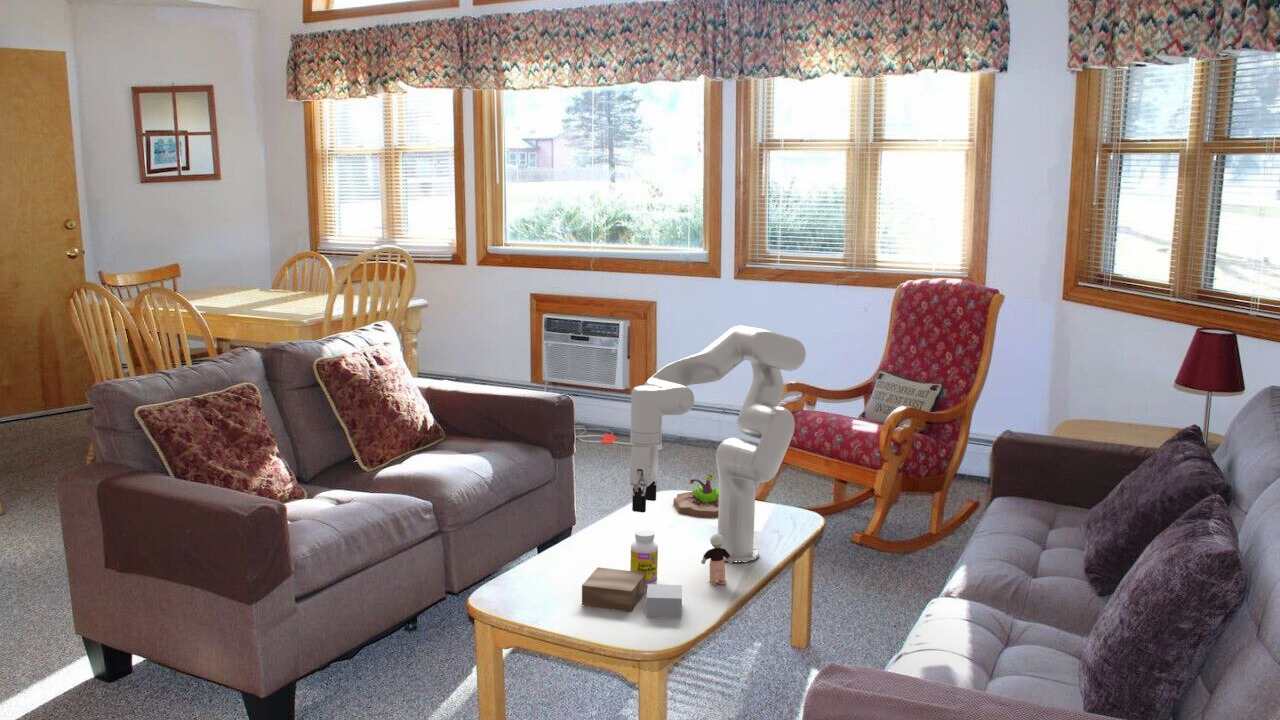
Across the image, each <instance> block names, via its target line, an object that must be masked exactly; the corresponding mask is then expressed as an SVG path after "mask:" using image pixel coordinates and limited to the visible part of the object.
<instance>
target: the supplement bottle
mask: <svg viewBox="0 0 1280 720" xmlns="http://www.w3.org/2000/svg"><path fill="white" fill-rule="evenodd" d="M634 533H635V534H634V538H635V540H634V541H633V542H632V543H631V545H630V564H629V565H630V569H629V571H634V572H642V573H645V588H647V587H648V584H657V582H658V561H659V560H658V559H659V557H658V555H659V554H658V553H659V552H658V551H659V545H658V544H657V543H656V541H655V532H654V531H652V530H649V529H641V530H636V531H635V532H634Z"/></svg>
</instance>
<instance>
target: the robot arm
mask: <svg viewBox="0 0 1280 720" xmlns="http://www.w3.org/2000/svg"><path fill="white" fill-rule="evenodd" d="M806 352H807V351H806V348H805V346H804V344H803V343H802V342H801V341H800V340H799V339H798V338H794V337H791V336H787V335H784V334H781V333H777V332H774V331H771V330H767V329H764V328H758V327H752V326H746V325H735V326H732V327H731V328H729V329H727V331H725V332H724V333H723V334H721V335H720V336H719V337H717V338H716V339H715V340H714V341H712V343H709V344H708V346H706V347H705V348H704V349H702V350H701V351H700V352H698V353H695V354H693V355H690V356H687V357H684V358H681V359H679V360H676V361H674V362H671V363H668V364H667V365H665V366H663V367H662V368H660V369H659V370H658V371H656V373H654V374H653V375H651V377H649V378H648V379H647V380H646V381H645V383H644V384H643V385H637V386H635V387H633V388H632V390H631V394H630V395H631V397H630V438H629V440H630V444H631V446H632V447H631V453H630V461H629V462H630V463H629V479H628V480H629V481H628V484H629V485H630V486H633V487H632V499H631V500H632V501H631V502H632V503H631V504H632V505H631V507H632V509H631V510H632V512H635V513H636V512H637V513H646V511H647V506H646V505H647V501H651V502H655V501H656V500H657V483H658V482H657V481H658V480H657V478H658V476H659V475H658V473H659V446H660V445H662V439H663V438H662V436H663V432H662V431H663V416H681V415H685V414H687V413H688V412H689V411H690V410H691V409H692V408H693V406H694V405H695V395H694V393H693V391H692V390H691V388H690V387H688V386H693V385H701V384H708V383H709V384H710V383H714V382H717V381H720V380H721V379H723V378H724V377H725V376H727V374H729V373H730V372H731V371H733V370H734V369H735V368H736V367H738V365H740V364H741V363H743V362H744V361H750V365H751V369H752V382H751V385H750V387H749V390H748V392H747V394H746V397H745V399H744V402H743V404H742V407H741V409H740V411H739V413H738V417H737V418H736V427H737V428H738V431H739V432H740V433H742V434H743V435H745V436H748V437H751V438H754V439H758V440H759V443H758V442H754V441H753V440H748V439H745V438H741V437H740V438H739V437H729V438H726V439H723V440H722V441H721V443H719V445H718V447H717V449H716V453H715V462H716V467H717V468H716V469H717V473H718V474H717V475H718V487H719V506H718V517H717V534H721V535H722V536H723V539H724V542H723V544H722V546H721V547H720V548H723V549H725V550H726V551H727V552H728V553H729V555H730V557H731V560H732V562H735V561H737V562H739V561H740V562H743V561H750V560H753V559H755V560H757V559H758V558H759V557H758V556H760V551H759V550H758V548H757V547H755V546H754V537H755V536H754V535H755V512H756V511H755V509H756V507H755V506H756V505H755V504H756V488H755V487H756V486H755V483H754V482H756V483H763V484H764V483H767V482H769V481H771V480H773V478H774V477H775V476H776V475H777V473H778V472H779V469H780V467H781V464H782V463H783V460H784V458H785V455H786V453H787V451H788V449H789V446H790V444H791V441H792V439H793V436H794V432H795V424H796V422H795V418H794V414H792V411H790V410H789V409H788V408H786V407H784V406H780V405H779V404H780V401H781V399H782V396H783V393H784V385H785V384H784V378H783V375H782V371H788V372H792V371H797V370H798V369H799V368H800V367H802V365H803V364H804V362H805V360H806V356H807V355H806V354H807V353H806ZM781 370H782V371H781ZM711 549H714V547H713V546H712V548H711ZM757 557H758V558H757ZM756 558H757V559H756ZM723 559H724V562H725V561H728V560H727V559H726V558H725V557H724V556H723ZM753 561H754V560H753ZM750 562H751V561H750Z"/></svg>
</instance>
